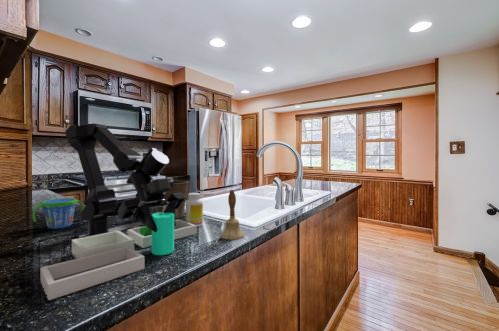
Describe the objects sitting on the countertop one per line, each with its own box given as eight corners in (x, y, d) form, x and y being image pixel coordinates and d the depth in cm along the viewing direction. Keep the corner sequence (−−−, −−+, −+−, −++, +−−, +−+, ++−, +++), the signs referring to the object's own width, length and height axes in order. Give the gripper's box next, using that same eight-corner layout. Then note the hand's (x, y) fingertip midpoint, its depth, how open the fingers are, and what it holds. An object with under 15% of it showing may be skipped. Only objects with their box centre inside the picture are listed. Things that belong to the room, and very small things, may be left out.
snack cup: (34, 234, 83) (34, 205, 82) (31, 228, 90) (30, 201, 90) (87, 225, 94) (87, 199, 94) (80, 220, 101) (80, 196, 101)
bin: (71, 254, 66) (71, 239, 66) (118, 243, 75) (118, 230, 75) (83, 267, 58) (83, 251, 58) (134, 253, 67) (134, 239, 67)
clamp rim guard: (127, 238, 79) (127, 229, 79) (178, 227, 93) (178, 219, 93) (143, 248, 71) (143, 238, 71) (196, 233, 85) (196, 225, 85)
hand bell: (234, 241, 78) (235, 192, 77) (215, 236, 82) (215, 190, 82) (248, 234, 85) (249, 190, 84) (230, 230, 89) (230, 188, 89)
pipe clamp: (149, 243, 76) (148, 229, 76) (140, 241, 77) (139, 227, 77) (172, 232, 86) (172, 220, 86) (163, 231, 88) (163, 219, 88)
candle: (147, 250, 68) (147, 208, 68) (167, 245, 72) (167, 205, 72) (157, 257, 64) (157, 212, 63) (178, 250, 68) (178, 209, 68)
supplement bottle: (206, 225, 97) (206, 193, 96) (194, 228, 91) (194, 195, 91) (194, 222, 100) (194, 191, 100) (182, 226, 95) (182, 193, 94)
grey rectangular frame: (40, 281, 52) (40, 267, 51) (128, 256, 65) (128, 245, 65) (48, 300, 45) (48, 284, 45) (144, 268, 58) (144, 256, 58)
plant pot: (174, 211, 121) (174, 179, 121) (196, 215, 112) (196, 181, 111) (144, 217, 108) (144, 181, 107) (166, 223, 99) (166, 184, 98)
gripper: (122, 169, 62) (144, 218, 56) (182, 167, 77) (205, 206, 71) (109, 195, 67) (128, 243, 61) (167, 189, 82) (187, 227, 76)
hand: (165, 228), depth 67 cm, fingers closed on candle, 5 cm apart
